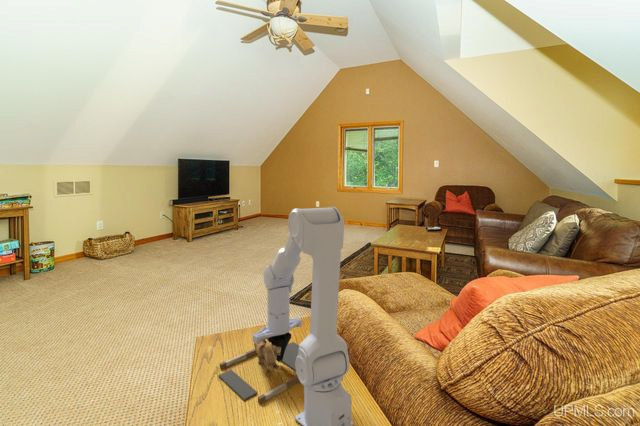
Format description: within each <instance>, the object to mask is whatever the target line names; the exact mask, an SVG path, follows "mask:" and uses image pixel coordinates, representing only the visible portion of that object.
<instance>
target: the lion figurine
mask: <svg viewBox="0 0 640 426" xmlns="http://www.w3.org/2000/svg"><path fill="white" fill-rule="evenodd" d="M253 345H254V349H255V350H256V352H257V357H258V359H257V360H258V361H257V363H258V364H261V366H262V368H263V369H264V371H265V376H266V377H269V376H270V375H271V370H270V369H269V367H271V366H272V368H273V369H274V370H278V369H279V367H280V365H279V364H278V363H277V362H276V361H277V360H276V359H277V355H280V351H281V347H276V346H275V345H272V343H271V342H269V341H268V342H267V339H265V340H263V341H260V344H256V343H254V342H253Z"/></svg>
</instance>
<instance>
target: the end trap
mask: <svg viewBox="0 0 640 426" xmlns="http://www.w3.org/2000/svg"><path fill="white" fill-rule="evenodd" d="M217 376H218V378H220V379H221V380H222V381H223V383H225V384H226V385H227V386H228V387H229V388H230V389H231V390H232V391H233V392H234V393H235V394H236V395H238V396H239V397H240V399H242V400H243V401H246V400H247V401H248V399H250V398H253V397H254V396H256V395H258V391H257V390H256V389H255V388H253V386H251V385H250V384H249V383H247V381H245V380H244V379H243V378H241V377H240V376H239V375H238V374H237V373H236V372H235V371H234V370H233V369H228V370H226V371H224V372H222V373H220V374H218V375H217Z"/></svg>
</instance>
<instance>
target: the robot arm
mask: <svg viewBox="0 0 640 426" xmlns="http://www.w3.org/2000/svg"><path fill="white" fill-rule="evenodd" d="M287 226H288V228H287V229H288V232H289V235H288V239H287V241H286V244H285V246H284V247H281V248H279V250H278V252H277V253H276V256H275V257H274V259H273V262H272V264H270V265H266V266H264V269H263V273H262V274H263V282H264V285H265V288H266V289H267V290H266V291H267V293H266V296H267V297H266V301H267V305H266V307H267V310H266V313H267V316H266V317H267V319H266V326H264V327H262V328H261V329H260V330H258V331H257V332H256V333H255V332H254V333H253V334H252V342H253V344H254V343H256V344H260V341H263V340H266V341H268V343H269V342H271V343H272V345H275V346H276V347H281V351H280V355H277V359H276V361H277V362H281V361H282V360H283V356H284V352H285V349H286V347H287V344H289V342H290V341H291V339H292V333H290V331H291V330H292V329H294V328H301V327H302V326H303V325H302V324H303V323H302V322H303V319H301V318H299V317H293V318H290V301H291V300H290V299H291V298H290V294H291V293H292V292H293V290H292V289H293V284H294V281H295V278H294V277H295V276H294V273H295V271H296V270H297V268H298V266H299V264H300V263H301V255H300V254H301V252H302V253H303V254H305V255H308V256H311V258H312V275H311V276H312V277H311V279H312V280H311V303H310V304H311V305H310V321H309V322H310V323H309V324H310V325H309V327H310V328H309V329H310V330H309V334H308V335H307V336H306V337H305V338H304V339H303V340H302V341H301V342H300V343H299V344H298V345H299V351H298V355H297V358H296V362H295V367H296V371H295V373H296V376H298V379H299V381H300V384H301V385H303V386H304V388H303V389H304V391H303V393H304V397H303V398H304V400H303V401H304V403H303V405H304V409H303V411H301V412H300V413H299V414H297V415H296V416H295V417H294V419H295V421H297V423H299V424H300V425H301V426H354V425H355V424H354V421H353V420H352V403H353V402H352V401H353V400H352V396H351V393H349V392H348V391H347V390H346V389H345V388H344V385H342V382H343V381H344V375H346V374H348V372H349V370H350V358H349V357H350V356H349V353H348V343H347V342H346V341H345V340H344V338H343V337H342V336H341V335H339V334H337V328H338V327H337V326H338V311H339V310H338V309H339V292H340V291H339V290H340V288H339V287H340V276H341V275H340V274H341V271H340V270H341V255H342V254H341V252H342V249H343V247H344V236H345V234H344V233H345V218H344V217H343V215H342V214H341V211H339V209H338V207H336V206H329V207H315V208H311V207H310V208H298V207H297V208H293V209H292V210H291V212H290V213H289V215H288V220H287Z"/></svg>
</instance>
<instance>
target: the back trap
mask: <svg viewBox="0 0 640 426" xmlns="http://www.w3.org/2000/svg"><path fill="white" fill-rule="evenodd" d="M299 345H300V344H297V343H295V342H294V341H292V342H290V343H288V344H287V347H286V349H285V352H284V356H283V360H282V361H280V362H281V363H283V364H284V365H285V366H287V367H288V368H290V369H292V370H293V371H294V372H296V367H295V362H296V358H297V355H298V351H299Z"/></svg>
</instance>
